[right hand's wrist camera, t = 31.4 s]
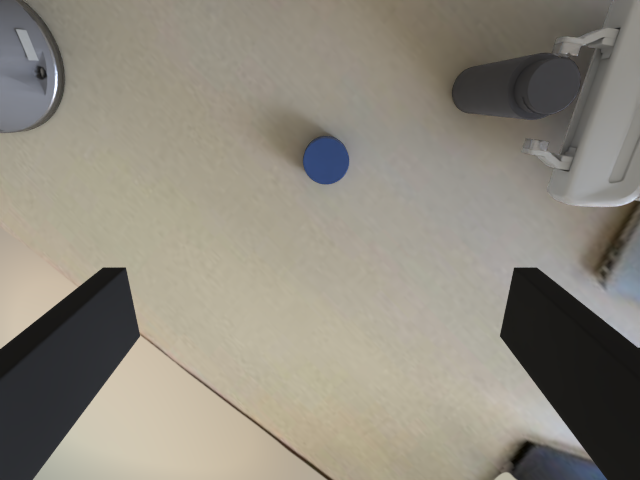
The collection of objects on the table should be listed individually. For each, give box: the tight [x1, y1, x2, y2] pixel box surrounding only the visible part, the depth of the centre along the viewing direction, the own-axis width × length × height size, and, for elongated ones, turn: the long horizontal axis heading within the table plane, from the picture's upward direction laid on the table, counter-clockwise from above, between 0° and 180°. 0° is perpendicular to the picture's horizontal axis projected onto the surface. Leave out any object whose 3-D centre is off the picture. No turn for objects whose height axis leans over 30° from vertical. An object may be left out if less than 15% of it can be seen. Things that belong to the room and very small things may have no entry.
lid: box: [303, 136, 349, 184], centre depth 45 cm, size 5×5×2 cm
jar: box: [452, 53, 580, 120], centre depth 36 cm, size 5×5×16 cm
